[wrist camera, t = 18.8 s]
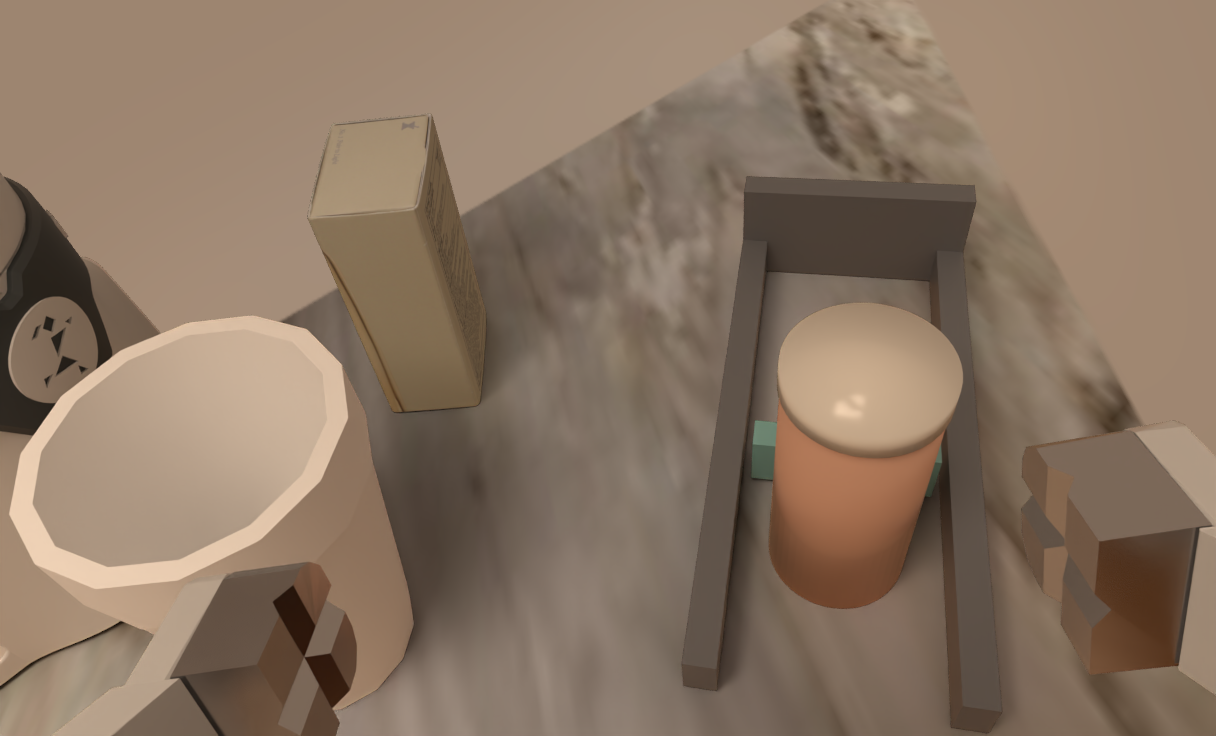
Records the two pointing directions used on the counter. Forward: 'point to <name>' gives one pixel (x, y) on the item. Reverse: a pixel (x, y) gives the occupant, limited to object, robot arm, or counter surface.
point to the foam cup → (215, 481)
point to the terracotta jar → (856, 447)
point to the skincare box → (402, 260)
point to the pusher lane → (933, 251)
